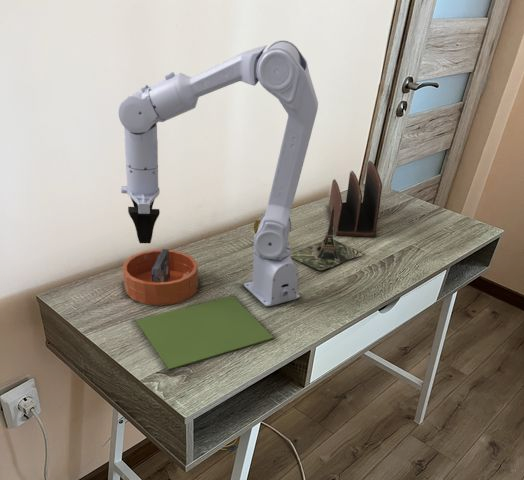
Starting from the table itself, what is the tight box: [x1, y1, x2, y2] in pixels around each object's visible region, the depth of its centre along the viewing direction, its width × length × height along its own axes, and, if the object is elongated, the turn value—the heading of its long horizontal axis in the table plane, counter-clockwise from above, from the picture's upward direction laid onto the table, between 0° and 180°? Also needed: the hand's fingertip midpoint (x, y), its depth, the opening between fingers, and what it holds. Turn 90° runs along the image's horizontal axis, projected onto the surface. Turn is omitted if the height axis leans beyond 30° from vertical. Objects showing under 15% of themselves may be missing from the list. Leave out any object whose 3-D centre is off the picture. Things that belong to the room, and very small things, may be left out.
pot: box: [122, 249, 199, 306], centre depth 106 cm, size 15×15×5 cm
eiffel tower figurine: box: [290, 205, 364, 271], centre depth 118 cm, size 15×10×13 cm
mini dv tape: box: [151, 248, 170, 283], centre depth 106 cm, size 8×2×6 cm, turn 175°
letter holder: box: [328, 160, 383, 238], centre depth 135 cm, size 10×20×14 cm, turn 179°
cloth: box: [135, 295, 275, 371], centre depth 96 cm, size 16×20×1 cm
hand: (144, 233), depth 105 cm, fingers open, 7 cm apart
